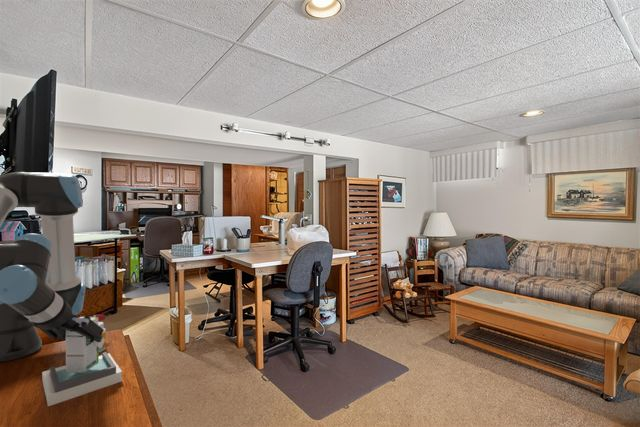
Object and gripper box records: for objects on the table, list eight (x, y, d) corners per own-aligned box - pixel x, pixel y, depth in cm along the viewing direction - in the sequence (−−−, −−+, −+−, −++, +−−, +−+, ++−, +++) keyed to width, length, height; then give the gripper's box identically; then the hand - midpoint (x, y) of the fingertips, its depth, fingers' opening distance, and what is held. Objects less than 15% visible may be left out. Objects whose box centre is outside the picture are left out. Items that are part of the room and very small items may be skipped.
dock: (42, 381, 95) (42, 365, 94) (109, 361, 107) (109, 347, 106) (47, 406, 83) (47, 387, 83) (122, 381, 95) (121, 364, 95)
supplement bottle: (92, 355, 111) (91, 327, 111) (85, 351, 114) (84, 324, 114) (108, 349, 116) (108, 323, 115) (101, 345, 119) (101, 319, 118)
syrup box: (85, 373, 91) (85, 323, 91) (64, 372, 91) (65, 322, 91) (98, 363, 97) (99, 316, 97) (79, 362, 97) (80, 315, 97)
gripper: (-2, 324, 78) (52, 357, 95) (78, 323, 79) (117, 356, 96) (17, 296, 83) (65, 332, 100) (92, 296, 84) (127, 331, 101)
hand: (90, 344), depth 98 cm, fingers closed on syrup box, 6 cm apart
